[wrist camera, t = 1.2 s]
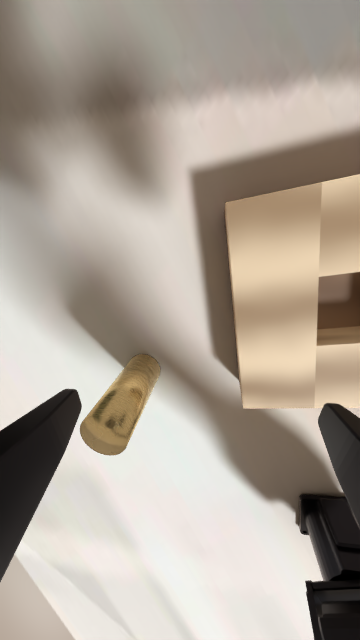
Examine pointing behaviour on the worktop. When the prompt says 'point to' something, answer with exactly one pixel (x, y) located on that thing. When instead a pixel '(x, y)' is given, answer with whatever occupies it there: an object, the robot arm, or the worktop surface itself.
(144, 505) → the worktop surface
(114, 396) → the pin
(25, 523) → the robot arm
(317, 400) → the bore block
